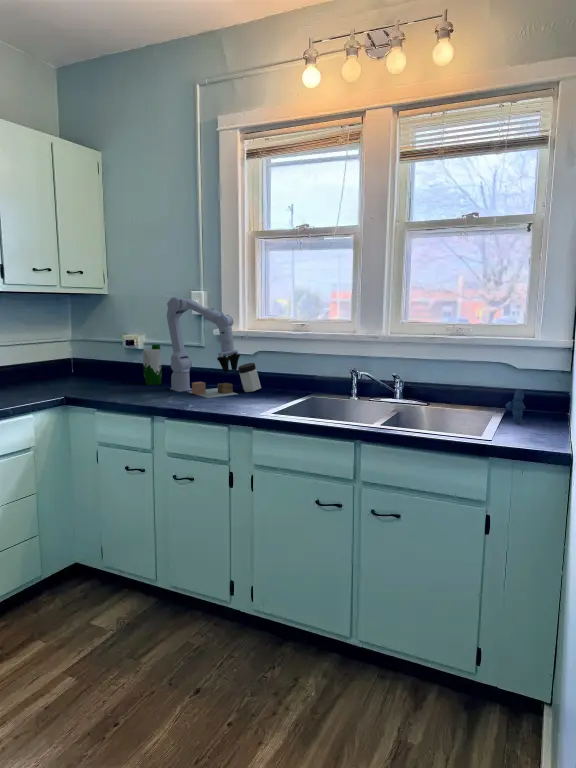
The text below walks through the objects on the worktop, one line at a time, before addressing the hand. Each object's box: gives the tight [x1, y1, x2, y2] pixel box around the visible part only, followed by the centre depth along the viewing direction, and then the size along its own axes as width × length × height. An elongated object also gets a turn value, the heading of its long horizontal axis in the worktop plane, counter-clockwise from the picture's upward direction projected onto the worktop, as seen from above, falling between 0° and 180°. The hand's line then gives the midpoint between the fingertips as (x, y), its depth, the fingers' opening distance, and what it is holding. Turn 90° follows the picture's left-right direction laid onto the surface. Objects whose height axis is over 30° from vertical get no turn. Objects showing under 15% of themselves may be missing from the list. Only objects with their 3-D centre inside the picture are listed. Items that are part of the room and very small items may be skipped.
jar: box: [237, 362, 262, 393], centre depth 254 cm, size 9×8×12 cm
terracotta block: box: [191, 381, 207, 396], centre depth 247 cm, size 4×4×5 cm
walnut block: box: [217, 382, 234, 394], centre depth 250 cm, size 5×5×4 cm
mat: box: [187, 387, 238, 399], centre depth 250 cm, size 20×16×1 cm
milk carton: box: [142, 344, 163, 386], centre depth 277 cm, size 9×9×20 cm
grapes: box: [505, 388, 526, 425], centre depth 191 cm, size 12×7×12 cm, turn 156°
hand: (230, 371), depth 247 cm, fingers open, 7 cm apart
